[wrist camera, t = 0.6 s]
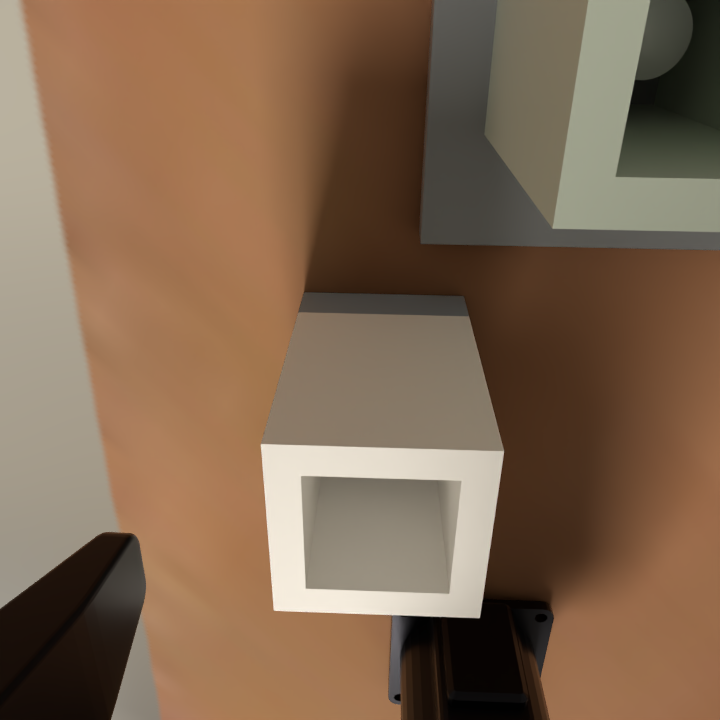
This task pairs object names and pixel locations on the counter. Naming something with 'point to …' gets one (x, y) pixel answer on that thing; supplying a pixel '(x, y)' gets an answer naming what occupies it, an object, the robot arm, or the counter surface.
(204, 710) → the counter surface
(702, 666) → the counter surface
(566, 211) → the pin board
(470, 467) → the sleeve
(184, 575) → the counter surface
